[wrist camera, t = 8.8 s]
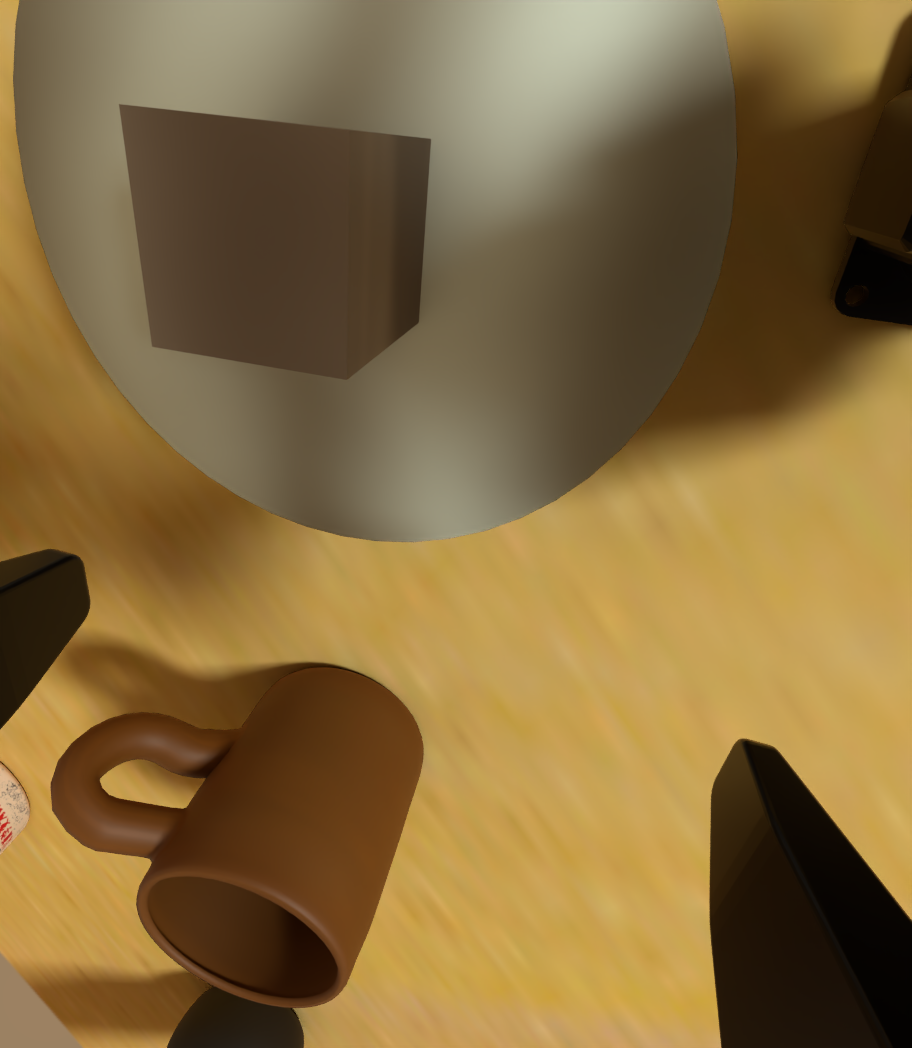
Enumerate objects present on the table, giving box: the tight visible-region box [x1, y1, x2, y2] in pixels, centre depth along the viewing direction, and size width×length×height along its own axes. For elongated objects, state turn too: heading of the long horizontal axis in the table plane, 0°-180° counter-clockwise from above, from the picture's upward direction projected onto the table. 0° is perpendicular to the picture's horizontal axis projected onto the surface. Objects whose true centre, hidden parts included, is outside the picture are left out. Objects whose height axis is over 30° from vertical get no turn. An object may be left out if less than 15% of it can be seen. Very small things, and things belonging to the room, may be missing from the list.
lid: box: [13, 0, 737, 542], centre depth 11 cm, size 14×14×5 cm
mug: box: [51, 667, 423, 1008], centre depth 25 cm, size 12×8×9 cm, turn 55°
